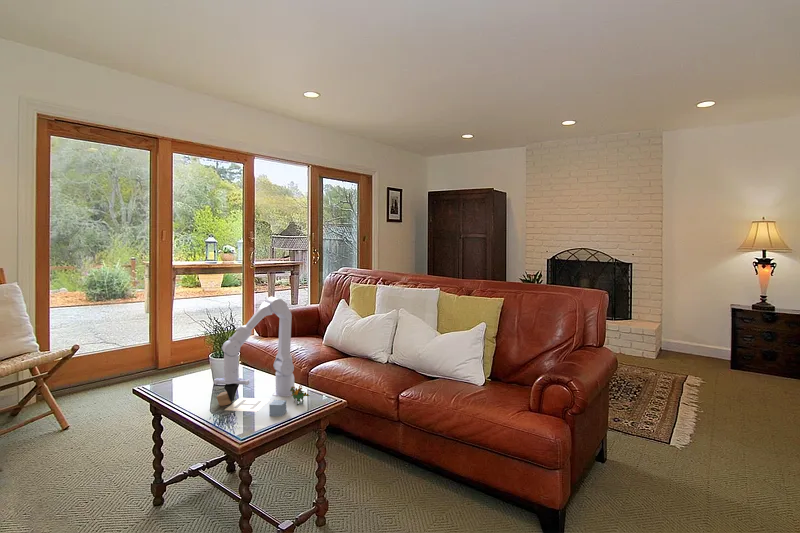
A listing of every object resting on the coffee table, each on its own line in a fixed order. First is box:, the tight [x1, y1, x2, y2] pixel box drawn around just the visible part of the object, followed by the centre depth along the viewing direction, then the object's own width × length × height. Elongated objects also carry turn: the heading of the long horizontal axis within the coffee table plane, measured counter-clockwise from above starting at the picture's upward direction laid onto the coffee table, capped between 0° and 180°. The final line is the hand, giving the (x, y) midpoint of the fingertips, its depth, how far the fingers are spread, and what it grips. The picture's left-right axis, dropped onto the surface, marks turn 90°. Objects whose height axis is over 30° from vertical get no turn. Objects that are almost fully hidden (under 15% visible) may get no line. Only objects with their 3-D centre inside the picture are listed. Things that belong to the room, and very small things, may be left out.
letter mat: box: [224, 397, 271, 413], centre depth 186 cm, size 14×14×1 cm
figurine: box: [289, 384, 311, 406], centre depth 188 cm, size 3×12×8 cm, turn 55°
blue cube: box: [269, 399, 287, 417], centre depth 176 cm, size 5×5×5 cm
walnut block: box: [216, 390, 233, 407], centre depth 186 cm, size 4×4×4 cm
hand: (232, 400), depth 187 cm, fingers closed, pressing on walnut block
